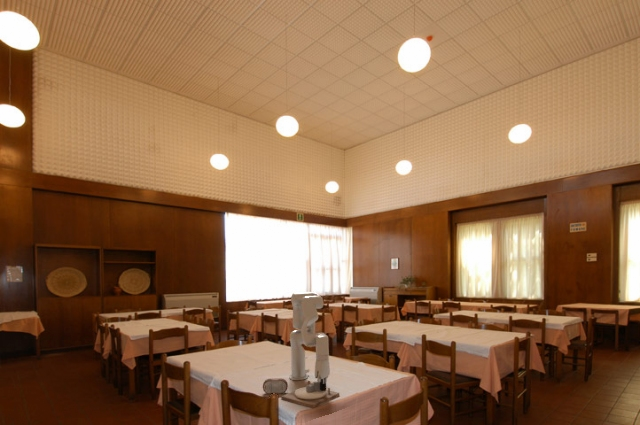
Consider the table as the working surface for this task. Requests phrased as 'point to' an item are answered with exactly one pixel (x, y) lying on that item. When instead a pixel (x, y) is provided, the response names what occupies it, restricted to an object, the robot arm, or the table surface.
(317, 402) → the dial board
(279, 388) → the tin
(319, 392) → the dial
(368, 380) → the table surface
